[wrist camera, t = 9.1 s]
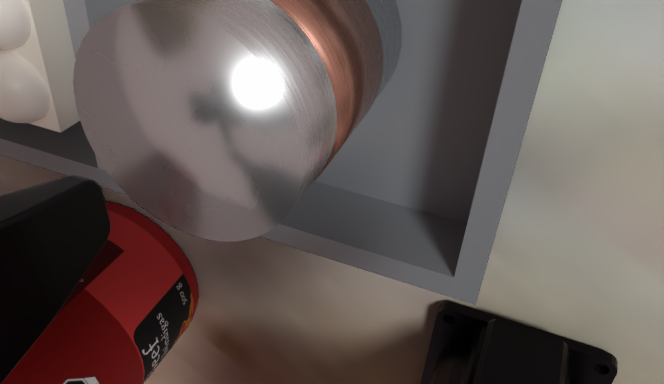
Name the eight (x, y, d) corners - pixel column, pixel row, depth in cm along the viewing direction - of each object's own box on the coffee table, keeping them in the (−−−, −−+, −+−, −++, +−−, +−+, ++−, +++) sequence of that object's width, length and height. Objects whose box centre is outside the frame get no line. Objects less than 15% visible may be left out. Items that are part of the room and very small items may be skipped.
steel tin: (391, 133, 19) (300, 272, 14) (233, 94, 21) (96, 205, 15) (416, -56, 16) (309, 32, 10) (225, -86, 17) (46, -22, 12)
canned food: (161, 341, 33) (0, 538, 24) (48, 239, 31) (-162, 409, 23) (234, 290, 28) (64, 513, 19) (104, 166, 27) (-137, 348, 18)
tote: (494, 236, 21) (475, 304, 18) (15, 100, 26) (-53, 137, 24) (619, -200, 13) (616, -193, 11) (-86, -258, 19) (-202, -263, 16)
